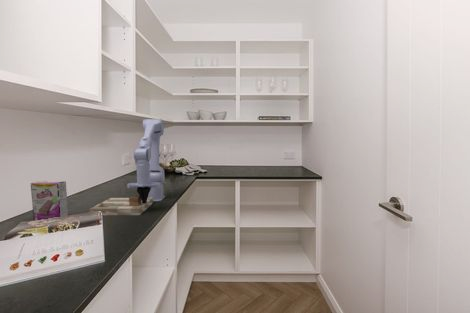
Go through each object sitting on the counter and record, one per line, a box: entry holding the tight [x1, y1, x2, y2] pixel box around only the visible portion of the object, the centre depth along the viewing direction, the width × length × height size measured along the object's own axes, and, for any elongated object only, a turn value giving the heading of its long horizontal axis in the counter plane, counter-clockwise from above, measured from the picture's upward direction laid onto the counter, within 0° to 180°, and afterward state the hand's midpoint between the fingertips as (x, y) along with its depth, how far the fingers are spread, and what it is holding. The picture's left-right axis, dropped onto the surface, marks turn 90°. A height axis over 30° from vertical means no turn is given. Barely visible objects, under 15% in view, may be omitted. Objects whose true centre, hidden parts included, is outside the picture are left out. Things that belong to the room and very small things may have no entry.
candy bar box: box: [30, 180, 69, 221], centre depth 97 cm, size 11×5×16 cm, turn 92°
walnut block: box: [128, 194, 142, 206], centre depth 108 cm, size 4×4×4 cm
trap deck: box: [89, 197, 154, 216], centre depth 112 cm, size 18×22×3 cm
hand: (144, 202), depth 108 cm, fingers closed
